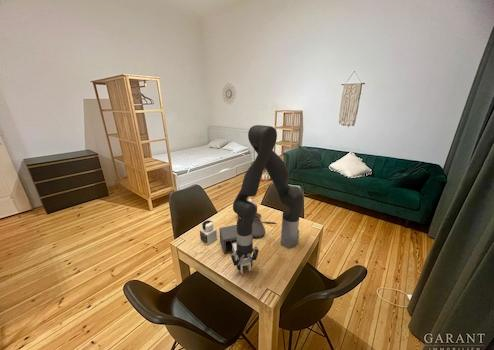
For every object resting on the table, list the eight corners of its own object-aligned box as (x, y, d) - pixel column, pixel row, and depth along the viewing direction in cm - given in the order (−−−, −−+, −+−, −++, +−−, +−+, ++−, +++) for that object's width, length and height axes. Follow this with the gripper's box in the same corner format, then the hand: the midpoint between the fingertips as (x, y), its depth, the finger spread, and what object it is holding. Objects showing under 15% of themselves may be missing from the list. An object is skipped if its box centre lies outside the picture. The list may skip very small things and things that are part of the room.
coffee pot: (242, 233, 127) (242, 212, 122) (255, 225, 135) (255, 206, 130) (268, 250, 113) (270, 227, 108) (281, 241, 121) (282, 219, 115)
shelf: (248, 248, 115) (248, 234, 111) (224, 254, 110) (223, 239, 107) (242, 236, 124) (242, 223, 121) (220, 241, 120) (219, 228, 117)
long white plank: (232, 250, 111) (232, 243, 109) (241, 248, 112) (240, 241, 111) (241, 273, 97) (240, 265, 95) (250, 270, 98) (250, 262, 96)
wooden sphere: (259, 222, 139) (260, 202, 134) (238, 225, 135) (238, 205, 130) (253, 211, 152) (253, 193, 147) (233, 213, 149) (233, 195, 143)
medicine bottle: (200, 239, 122) (198, 222, 117) (209, 234, 127) (208, 217, 122) (207, 245, 117) (206, 227, 113) (217, 239, 122) (216, 222, 118)
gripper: (256, 231, 99) (255, 259, 105) (227, 237, 94) (228, 266, 100) (262, 241, 92) (261, 270, 98) (231, 248, 88) (232, 278, 94)
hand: (244, 268), depth 99 cm, fingers closed on long white plank, 5 cm apart
